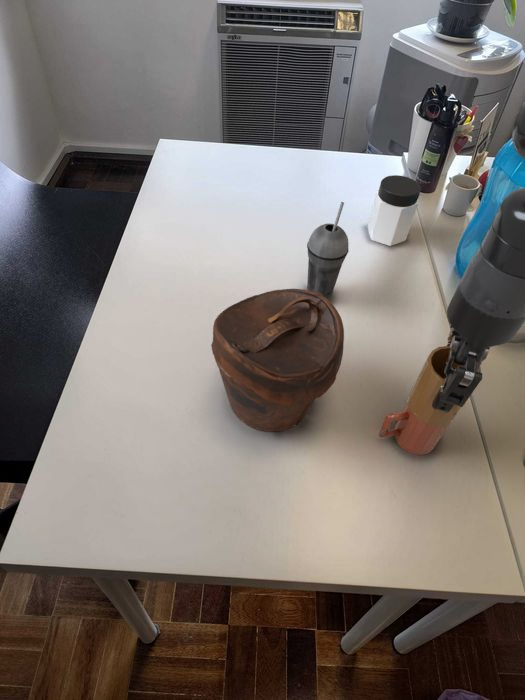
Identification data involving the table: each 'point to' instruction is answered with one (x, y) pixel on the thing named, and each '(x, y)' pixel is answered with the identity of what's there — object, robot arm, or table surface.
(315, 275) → the beverage cup
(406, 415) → the mug
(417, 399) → the wooden cup
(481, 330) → the robot arm
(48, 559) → the table surface
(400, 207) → the jar
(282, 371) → the case
